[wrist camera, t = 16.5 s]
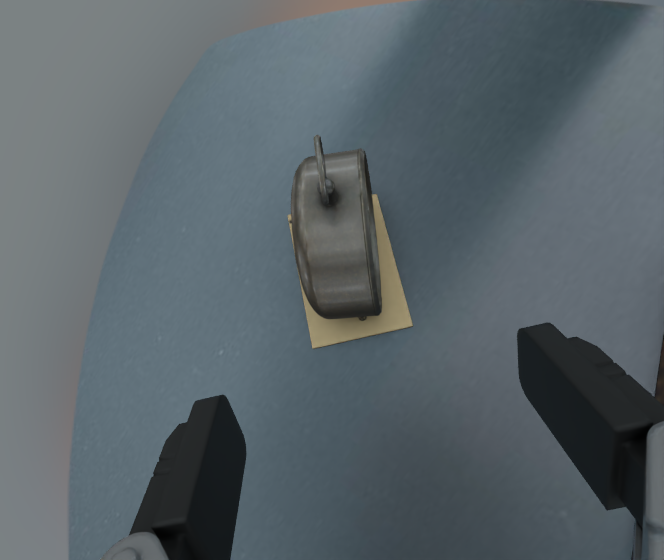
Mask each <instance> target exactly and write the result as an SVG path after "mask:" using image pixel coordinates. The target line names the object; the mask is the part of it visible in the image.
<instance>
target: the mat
mask: <svg viewBox="0 0 664 560" xmlns="http://www.w3.org/2000/svg"><path fill="white" fill-rule="evenodd" d="M372 198H373V208H374V218H375V226H376V236H377V245H378V255H379V267H380V280H381V296H382V312H381V313H380V315H378V316H367V318H366V320H364V321H360V320H359V318H358V317H354V318H342V319H325V318H323V317H321V316H319V315H318V314H317V313H316V312H315V311H314V310H313V308H312V307H311V306H310V304H309V302H308V300H307V298H306V295H305V293H304V290H303V287H302V284H301V280H300V284H301V290H302V295H303V300H304V306H305V311H306V316H307V322H308V327H309V332H310V338H311V343H312V348H313V349H315V348H320V347H324V346H329V345H333V344H337V343H342V342H346V341H351V340H355V339H360V338H364V337H369V336H373V335H377V334H382V333H386V332H391V331H395V330H400V329H404V328H409V327H413V324H412V321H411V317H410V313H409V310H408V306H407V302H406V299H405V295H404V292H403V288H402V284H401V281H400V277H399V273H398V270H397V266H396V263H395V259H394V255H393V252H392V248H391V244H390V241H389V237H388V234H387V230H386V226H385V223H384V219H383V215H382V212H381V208H380V205H379V201H378V197H377V194H374V195H372ZM288 220H289V221H290V220H291V214H290V215H288ZM289 226H290V231H291V236H292V242H293V235H292V223H291V224H290V222H289ZM293 247H294V243H293ZM294 252H295V251H294ZM295 258H296V257H295ZM297 268H298V267H297ZM298 274H299V272H298ZM299 279H300V276H299Z"/></svg>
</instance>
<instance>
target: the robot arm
mask: <svg viewBox="0 0 664 560" xmlns="http://www.w3.org/2000/svg"><path fill="white" fill-rule="evenodd" d="M517 343H518V368H519V379H520V383H521V386H522V389H523V391H524V393H525V395H526V397H527V398H528V400H529V401H530V403H531V404H532V406H533V407H534V408H535V410H536V411H537V413H538V414H539V415H540V417H541V418H542V420H543V421H544V422H545V424H546V425H547V427H548V428H549V429H550V431H551V432H552V434H553V435H554V437H555V438H556V439H557V441H558V442H559V444H560V445H561V446H562V448H563V449H564V451H565V452H566V453H567V455H568V456H569V458H570V459H571V460H572V462H573V463H574V465H575V466H576V467H577V469H578V470H579V472H580V473H581V475H582V476H583V477H584V479H585V480H586V482H587V483H588V484H589V486H590V487H591V489H592V490H593V491H594V493H595V494H596V496H597V497H598V498H599V500H600V501H601V503H602V504H603V505H604V507H605V508H606V510H611V509H616V508H621V507H627V508H628V510H629V511H630V512H631V514H632V515H633V516H634V518H635V525H634V544H633V560H664V406H663V405H662V404H661V403H660V402H659V401H658V400H657V399H656V398H654V397H653V396H652V395H651V394H650V393H649V392H648V391H647V390H645V389H644V388H643V387H642V386H641V385H640V384H639V383H638V382H637V381H635V380H634V379H633V378H632V377H631V376H630V375H626V373H625V371H624V370H623V369H622V368H621V367H620V366H619V365H617V364H616V363H613V360H612V359H611V358H610V357H609V356H607V355H606V354H605V353H604V352H603V351H602V350H601V349H600V348H598V347H597V346H595V345H593V344H591V343H589V342H587V341H584V340H582V339H580V338H578V337H572V338H568V339H567V338H566V337H565V336H564V335H563V334H562V333H561V332H560V331H559V330H558V329H557V328H556V327H555V326H554V325H552V324H551V323H543V324H539V325H534V326H530V327H526V328H521V329H519V330H518V333H517ZM245 461H246V444H245V439H244V435H243V433H242V430H241V428H240V426H239V424H238V421H237V419H236V417H235V415H234V412H233V410H232V408H231V406H230V403H229V401H228V399H227V398H226V396H225V395H219V396H215V397H210V398H206V399H201V400H197V401H195V403H194V404H193V407H192V410H191V413H190V416H189V418H188V421H187V422H186V423H182V424H179V425H178V426H177V427H176V429H175V430H174V431H173V432H172V434H171V435H170V436H169V437H168V439H167V440H166V442H165V444H164V447H163V449H162V452H161V454H160V457H159V462H157V465H156V467H155V470H154V472H153V474H154V476H153V477H152V478H151V480H150V483H149V485H148V488H147V490H146V493H145V495H144V498H143V501H142V503H141V506H140V508H139V511H138V513H137V516H136V519H135V521H134V524H133V526H132V529H131V531H130V534H129V536H127V537H125V538H123V539H122V540H120V541H119V542H117V543H116V544H115V545H114V546H112V547H111V548H110V549H109V550H108V551H107V552H106V553H105V554H104V555H103V557H102V558H101V559H100V560H230V557H231V551H232V544H233V538H234V531H235V525H236V519H237V512H238V506H239V500H240V493H241V487H242V481H243V474H244V468H245Z"/></svg>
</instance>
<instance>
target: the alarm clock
mask: <svg viewBox="0 0 664 560" xmlns="http://www.w3.org/2000/svg"><path fill="white" fill-rule="evenodd" d="M314 146H315V154H316V156H311V157H308V158H306V159H305V160H304V161H303V162H302V163H301V164H300V165H299V167H298V169H297V171H296V173H295V176H294V180H293V185H292V194H291V220H290V221H289V222H290V224H291V223H292V235H293V243H294V251H295V257H296V263H297V267H298V272H299V276H300V280H301V284H302V287H303V290H304V293H305V295H306V298H307V300H308V302H309V304H310V306H311V307H312V308H313V310H314V311H315V312H316V313H317V314H318V315H319V316H321V317H323V318H325V319H342V318H354V317H358V318H359V320H360V321H364V320H366V318H367V316H378V315H380V313H381V312H382V296H381V280H380V267H379V255H378V245H377V236H376V226H375V218H374V208H373V198H372V191H371V184H370V177H369V171H368V164H367V158H366V154H365V151H364V150H363V149H357V150H352V151H345V152H338V153H331V154H323V149H322V143H321V137H320V136H319V135H316V136H315V137H314Z"/></svg>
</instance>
